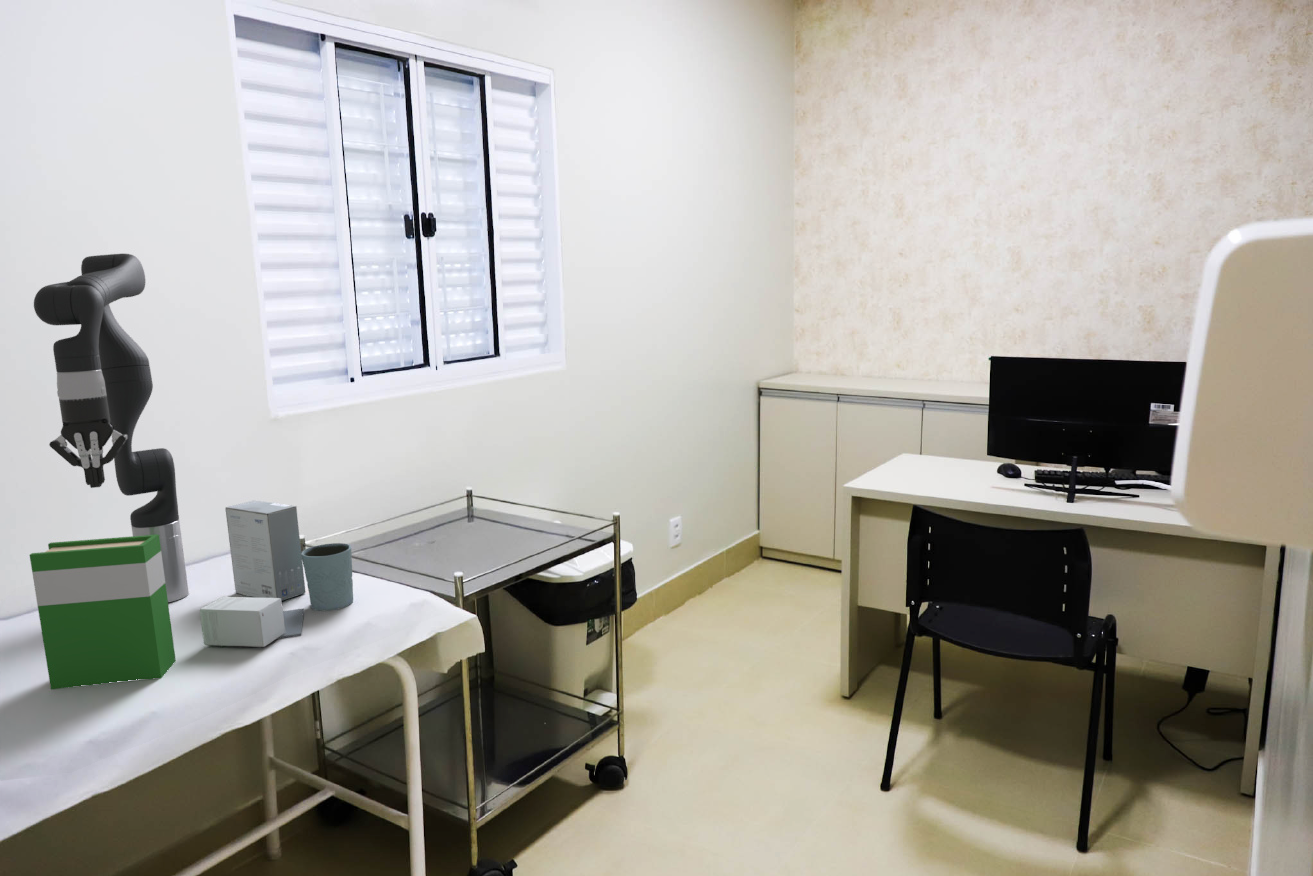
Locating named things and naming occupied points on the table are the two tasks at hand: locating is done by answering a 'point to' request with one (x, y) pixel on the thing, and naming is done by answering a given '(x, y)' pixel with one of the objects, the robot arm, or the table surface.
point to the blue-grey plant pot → (329, 575)
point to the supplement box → (242, 621)
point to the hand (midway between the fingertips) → (96, 486)
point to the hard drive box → (265, 550)
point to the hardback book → (103, 610)
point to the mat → (293, 622)
